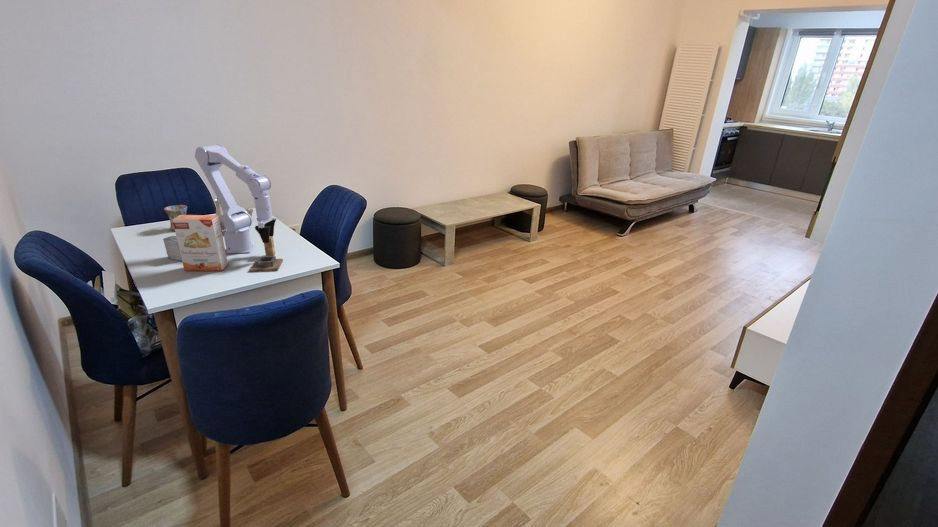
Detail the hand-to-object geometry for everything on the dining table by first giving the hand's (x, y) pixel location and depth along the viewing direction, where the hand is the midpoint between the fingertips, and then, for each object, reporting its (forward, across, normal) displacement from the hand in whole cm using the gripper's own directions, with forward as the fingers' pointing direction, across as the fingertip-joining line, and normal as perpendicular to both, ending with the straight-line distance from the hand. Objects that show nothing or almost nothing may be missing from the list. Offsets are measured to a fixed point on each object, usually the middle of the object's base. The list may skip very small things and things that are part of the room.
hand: (268, 239), depth 184 cm
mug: (+7, +40, +50) cm, 65 cm away
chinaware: (+8, +41, +27) cm, 50 cm away
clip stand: (+7, -11, -1) cm, 13 cm away
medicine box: (+8, +1, +35) cm, 36 cm away
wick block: (+7, 0, 0) cm, 7 cm away
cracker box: (+8, -11, +21) cm, 25 cm away
